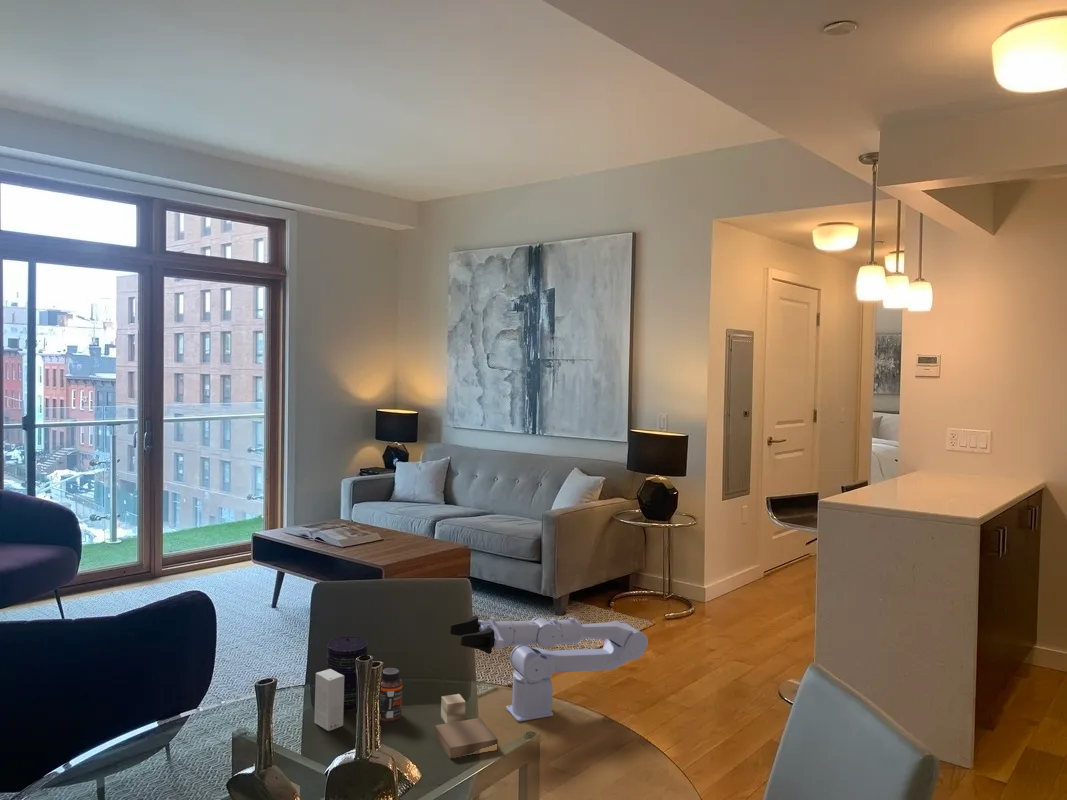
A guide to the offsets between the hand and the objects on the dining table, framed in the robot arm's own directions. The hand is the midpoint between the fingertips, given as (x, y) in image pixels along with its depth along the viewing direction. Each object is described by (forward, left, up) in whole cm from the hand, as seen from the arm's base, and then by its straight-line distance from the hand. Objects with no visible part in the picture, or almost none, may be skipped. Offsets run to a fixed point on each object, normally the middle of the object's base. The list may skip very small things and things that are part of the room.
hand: (455, 634), depth 185 cm
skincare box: (+27, -10, -22) cm, 36 cm away
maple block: (-1, -3, -22) cm, 22 cm away
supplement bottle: (+13, -9, -22) cm, 27 cm away
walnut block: (0, +9, -22) cm, 24 cm away
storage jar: (+21, -20, -22) cm, 36 cm away
